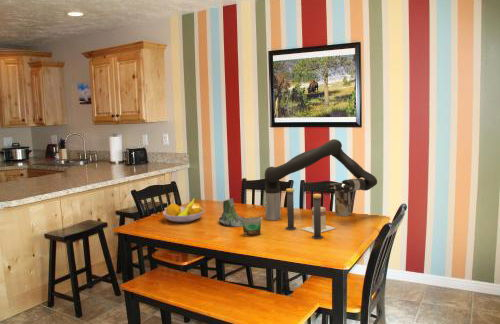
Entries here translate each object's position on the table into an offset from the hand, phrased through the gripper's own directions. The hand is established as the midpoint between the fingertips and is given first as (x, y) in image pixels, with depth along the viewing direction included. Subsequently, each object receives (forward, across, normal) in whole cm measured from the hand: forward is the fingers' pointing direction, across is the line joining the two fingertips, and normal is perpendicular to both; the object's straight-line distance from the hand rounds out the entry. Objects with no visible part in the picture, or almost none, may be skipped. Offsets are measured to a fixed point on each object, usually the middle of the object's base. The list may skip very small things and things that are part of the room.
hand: (331, 188), depth 243 cm
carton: (+10, 0, +22) cm, 24 cm away
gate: (+21, 0, +23) cm, 32 cm away
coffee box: (-25, -14, +22) cm, 36 cm away
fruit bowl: (+60, -71, +26) cm, 97 cm away
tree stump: (+40, -43, +25) cm, 63 cm away
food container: (+45, -15, +24) cm, 53 cm away
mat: (+10, 0, +23) cm, 25 cm away
